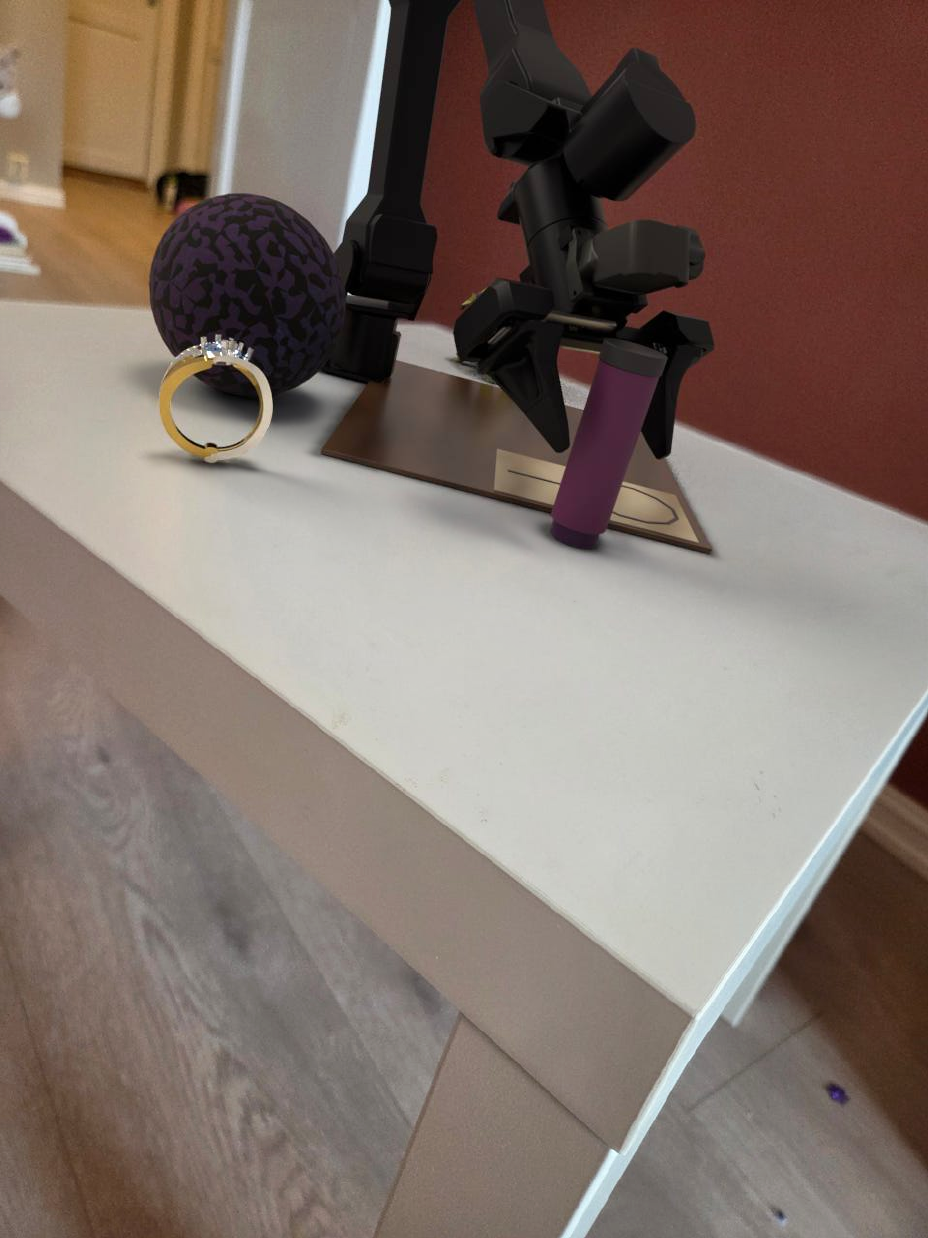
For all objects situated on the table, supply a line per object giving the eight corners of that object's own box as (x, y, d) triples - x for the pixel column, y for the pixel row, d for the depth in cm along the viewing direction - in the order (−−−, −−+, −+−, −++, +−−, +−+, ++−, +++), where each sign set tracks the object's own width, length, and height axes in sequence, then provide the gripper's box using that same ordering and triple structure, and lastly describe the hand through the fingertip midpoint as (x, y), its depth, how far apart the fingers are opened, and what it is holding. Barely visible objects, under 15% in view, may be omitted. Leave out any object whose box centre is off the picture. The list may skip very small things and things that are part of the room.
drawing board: (320, 453, 65) (321, 446, 64) (385, 360, 97) (386, 355, 96) (710, 554, 66) (713, 547, 66) (647, 430, 99) (648, 425, 98)
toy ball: (182, 351, 79) (200, 169, 73) (344, 395, 80) (377, 219, 73) (108, 386, 66) (122, 167, 59) (303, 439, 66) (339, 228, 60)
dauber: (545, 541, 60) (607, 344, 54) (543, 519, 64) (601, 333, 58) (604, 556, 60) (672, 362, 54) (599, 534, 64) (662, 350, 58)
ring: (261, 459, 60) (278, 342, 57) (266, 476, 58) (284, 354, 54) (153, 444, 58) (164, 321, 54) (153, 461, 55) (165, 333, 52)
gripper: (528, 126, 49) (586, 383, 46) (747, 197, 60) (805, 410, 57) (430, 245, 58) (473, 466, 56) (634, 289, 69) (680, 477, 66)
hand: (615, 454), depth 58 cm, fingers open, 9 cm apart
